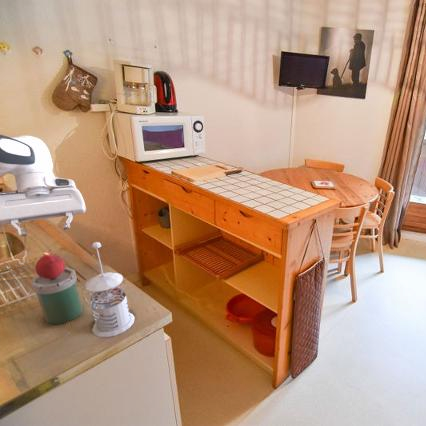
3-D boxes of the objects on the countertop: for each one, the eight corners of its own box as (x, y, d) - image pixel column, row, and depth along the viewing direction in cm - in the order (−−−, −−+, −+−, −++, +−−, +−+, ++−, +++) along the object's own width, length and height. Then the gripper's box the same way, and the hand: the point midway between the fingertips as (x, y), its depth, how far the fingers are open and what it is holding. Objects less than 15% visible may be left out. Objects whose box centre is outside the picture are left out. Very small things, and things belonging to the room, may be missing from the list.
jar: (38, 328, 82) (25, 289, 77) (49, 306, 90) (37, 270, 85) (80, 320, 86) (70, 283, 81) (87, 300, 93) (78, 264, 89)
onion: (68, 270, 87) (61, 245, 84) (67, 281, 83) (60, 255, 80) (40, 276, 84) (32, 250, 81) (38, 288, 80) (29, 260, 76)
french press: (115, 340, 81) (96, 256, 71) (76, 331, 82) (52, 247, 73) (142, 315, 89) (128, 236, 80) (107, 307, 91) (89, 229, 82)
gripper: (-17, 188, 83) (-10, 236, 80) (79, 179, 95) (88, 221, 92) (-9, 198, 88) (-3, 244, 85) (81, 189, 100) (90, 228, 97)
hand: (45, 232), depth 88 cm, fingers open, 8 cm apart
